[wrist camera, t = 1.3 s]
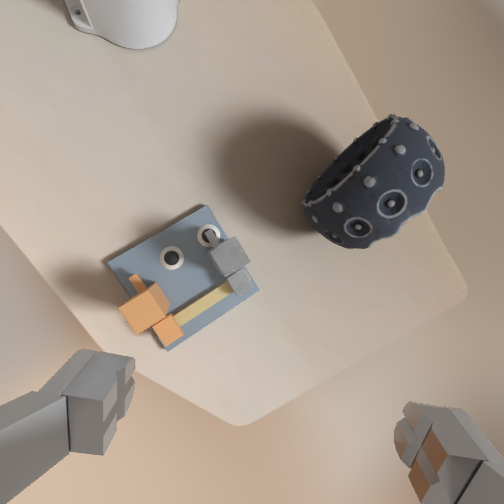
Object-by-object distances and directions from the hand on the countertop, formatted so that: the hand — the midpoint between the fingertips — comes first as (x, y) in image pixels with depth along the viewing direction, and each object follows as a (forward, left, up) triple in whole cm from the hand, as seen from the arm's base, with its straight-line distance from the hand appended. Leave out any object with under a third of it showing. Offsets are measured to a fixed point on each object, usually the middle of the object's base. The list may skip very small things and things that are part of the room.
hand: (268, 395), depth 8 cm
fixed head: (0, +5, -39) cm, 40 cm away
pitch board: (-1, -2, -40) cm, 40 cm away
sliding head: (0, -8, -39) cm, 40 cm away
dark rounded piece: (+1, +29, -41) cm, 50 cm away
